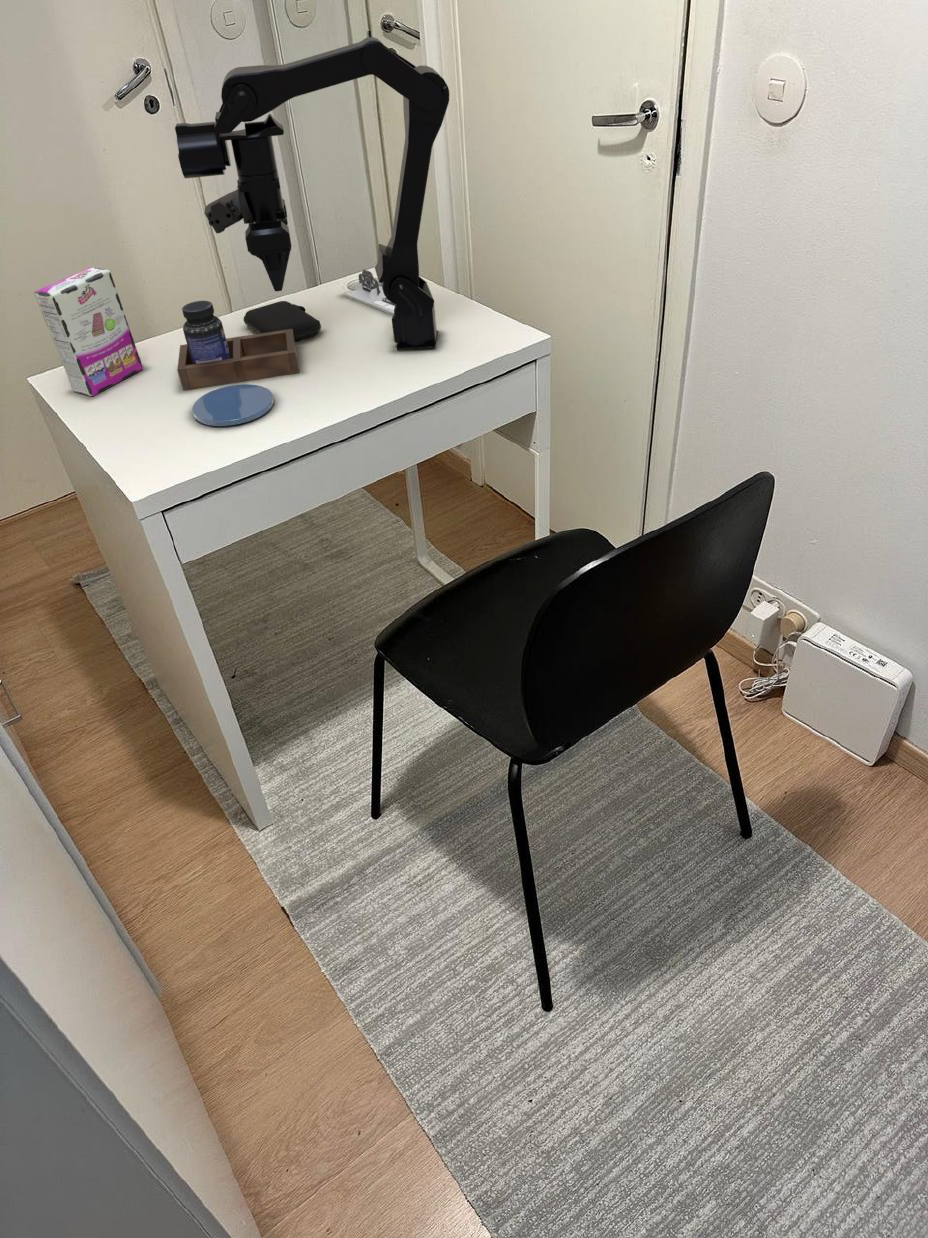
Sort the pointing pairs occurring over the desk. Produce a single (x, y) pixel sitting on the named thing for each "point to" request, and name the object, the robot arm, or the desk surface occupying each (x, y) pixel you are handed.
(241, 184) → the robot arm
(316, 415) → the desk surface
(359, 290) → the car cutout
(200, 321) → the pill bottle
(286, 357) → the rack
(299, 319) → the carrying case
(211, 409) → the plate
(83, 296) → the candy bar box
